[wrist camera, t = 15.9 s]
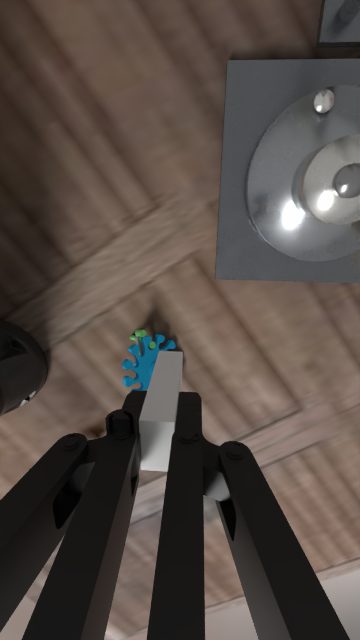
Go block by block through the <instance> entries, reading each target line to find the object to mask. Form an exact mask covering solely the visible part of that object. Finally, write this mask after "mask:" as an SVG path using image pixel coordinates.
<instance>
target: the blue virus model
mask: <svg viewBox="0 0 360 640" xmlns="http://www.w3.org/2000/svg"><path fill="white" fill-rule="evenodd" d="M130 339H131V340H135V341H136V344H134V345H132V346H131V347H129V348H128V350H129V352H130V353H132V354H133V355H134V356H135V358H136V362H135V364H134V365H135V366H133V363H132V361H131V360H128V359H125V360H124V362H123V364H122V368H124V369H127V370H128V369H131V370H133V371H134V372H135V373H136V377H135V378H134V379H133V378H131V377H129V376H125V377H124V378H123V384H124V385H125V386H127V387H129V386H131V385H132V384H134V383H141V387H140V388H139V389H132V390H140V391H145V390H146V389H148V387H149V384H150V380H151V377H152V373H153V370H154V366H155V363H156V360H157V356H158V353H159V351H167V350H168V349H174V348H175V347H176V345H175V343H174V341H173V340H168V341H167V342H166V344H165V346H164V347H163V348H161V349H159V347H158V346H159V344H160V343H162V342H164V340H165V337H164V336H163V335H161V334H156V335H155V340H154V342H153V341H152V338H151V337H150V336H146V331H145V330H136V331H135V335H131V336H130ZM149 348H151V349H149ZM132 390H131V391H132Z"/></svg>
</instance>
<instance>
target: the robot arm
mask: <svg viewBox="0 0 360 640" xmlns="http://www.w3.org/2000/svg"><path fill="white" fill-rule="evenodd" d="M182 362H183V352H175V351H159V353H158V356H157V360H156V363H155V366H154V370H153V373H152V377H151V380H150V384H149V387H148V391H140V390H132V391H131V392H130V393H129V394H128V395H127V396H126V399H125V402H124V404H123V407H122V409H118V410H115V411H113V412H111V413H109V414H108V415H107V417H106V418H105V419H106V430H107V434H106V436H104V437H102V438H98V439H94V440H88V441H87V438H86V437H85V436H84V435H82V434H79V433H73V434H68V435H66V436H63V437H62V438H60V439H59V440H58V441H57V442H56V443H55V444H54V445H53V446H52V447H51V448H50V449H49V450H48V451H47V452H46V453H45V454H44V455H43V456H42V457H41V459H40V460H39V461H38V462H37V463H36V464H35V465H34V466H33V467H32V468H31V469H30V470H29V471H28V472H27V473H26V474H25V475H24V476H23V477H22V478H21V479H20V480H19V481H18V483H17V484H16V485H15V486H14V487H13V488H12V489H11V490H10V491H9V492H8V493H7V494H6V495H5V496H4V497H3V498H2V499H1V500H0V632H1V631H2V629H3V627H4V626H5V625H6V623H7V621H8V620H9V618H10V617H11V615H12V614H13V612H14V611H15V609H16V608H17V606H18V605H19V603H20V602H21V600H22V599H23V597H24V596H25V594H26V593H27V591H28V589H29V588H30V586H31V585H32V583H33V582H34V580H35V579H36V577H37V576H38V574H39V573H40V571H41V570H42V568H43V567H44V565H45V564H46V562H47V561H48V559H49V557H50V556H51V554H52V553H53V551H54V550H55V548H56V547H57V545H58V544H59V542H60V541H61V539H62V538H63V536H64V535H65V536H64V538H63V541H62V543H61V546H60V548H59V551H58V553H57V555H56V558H55V560H54V563H53V565H52V567H51V570H50V572H49V575H48V577H47V580H46V582H45V584H44V587H43V589H42V592H41V594H40V596H39V599H38V601H37V604H36V606H35V609H34V611H33V613H32V616H31V619H30V621H29V623H28V625H27V628H26V630H25V633H24V635H23V638H22V640H104V636H105V632H106V627H107V623H108V618H109V613H110V609H111V604H112V600H113V595H114V591H115V586H116V582H117V577H118V573H119V568H120V564H121V559H122V555H123V550H124V546H125V541H126V537H127V532H128V528H129V523H130V519H131V514H132V509H133V505H134V500H135V496H136V491H137V487H138V482H139V468H140V463H141V470H153V471H168V473H167V481H166V489H165V497H164V505H163V513H162V521H161V529H160V537H159V545H158V553H157V561H156V569H155V577H154V585H153V593H152V601H151V609H150V617H149V625H148V633H147V640H205V599H204V516H203V495H205V496H208V497H211V498H213V499H216V505H217V508H218V511H219V514H220V517H221V521H222V524H223V527H224V530H225V533H226V537H227V540H228V543H229V546H230V549H231V553H232V556H233V559H234V562H235V565H236V569H237V572H238V575H239V578H240V581H241V585H242V588H243V591H244V594H245V597H246V601H247V604H248V607H249V610H250V613H251V617H252V620H253V623H254V626H255V629H256V633H257V635H258V639H259V640H350V639H349V637H348V635H347V633H346V631H345V629H344V628H343V626H342V624H341V622H340V620H339V618H338V616H337V614H336V612H335V610H334V608H333V607H332V605H331V603H330V601H329V599H328V597H327V595H326V593H325V591H324V589H323V588H322V586H321V584H320V582H319V580H318V578H317V576H316V574H315V572H314V570H313V569H312V567H311V565H310V563H309V561H308V559H307V557H306V555H305V553H304V551H303V549H302V548H301V546H300V544H299V542H298V540H297V538H296V536H295V534H294V532H293V530H292V529H291V527H290V525H289V523H288V521H287V519H286V517H285V515H284V513H283V511H282V510H281V508H280V506H279V504H278V502H277V500H276V498H275V496H274V494H273V492H272V491H271V489H270V487H269V485H268V483H267V481H266V479H265V477H264V475H263V473H262V472H261V470H260V468H259V466H258V464H257V462H256V460H255V458H254V456H253V454H252V453H251V451H250V449H249V448H248V447H247V446H246V445H244V444H243V443H240V442H237V441H228V442H225V443H223V444H222V445H221V446H217V445H214V444H212V443H210V442H209V441H207V440H206V439H205V438H204V436H203V434H202V406H201V397H200V396H199V394H198V393H197V392H182ZM46 377H47V363H46V359H45V356H44V354H43V352H42V350H41V348H40V347H39V345H38V344H37V342H36V341H35V340H34V339H33V338H32V337H31V336H30V335H29V334H28V333H26V332H25V331H24V330H22V329H21V328H19V327H17V326H15V325H13V324H11V323H8V322H5V321H1V320H0V416H2V415H4V414H6V413H8V412H10V411H12V410H14V409H16V408H18V407H20V406H22V405H24V404H26V403H27V402H29V401H30V400H31V399H32V398H33V397H34V396H35V395H36V394H37V393H38V392H39V391H40V390H41V388H42V387H43V385H44V383H45V381H46ZM65 533H66V534H65Z"/></svg>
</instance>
